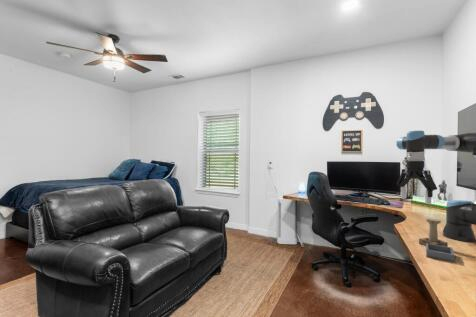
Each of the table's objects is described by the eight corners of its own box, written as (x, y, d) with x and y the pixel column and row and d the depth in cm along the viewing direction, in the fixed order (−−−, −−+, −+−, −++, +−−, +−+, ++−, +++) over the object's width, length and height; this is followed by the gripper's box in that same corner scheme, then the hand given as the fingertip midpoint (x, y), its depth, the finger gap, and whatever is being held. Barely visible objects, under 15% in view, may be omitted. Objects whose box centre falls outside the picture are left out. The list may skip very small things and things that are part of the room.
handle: (426, 243, 139) (426, 217, 138) (440, 245, 135) (440, 219, 134) (425, 245, 135) (425, 219, 135) (440, 248, 131) (440, 221, 131)
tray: (426, 249, 130) (426, 243, 130) (451, 254, 123) (452, 247, 123) (426, 256, 121) (426, 250, 120) (454, 262, 114) (454, 255, 114)
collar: (432, 242, 140) (432, 237, 140) (447, 247, 132) (447, 242, 132) (419, 243, 138) (419, 238, 138) (434, 249, 130) (434, 244, 130)
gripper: (389, 160, 135) (389, 197, 135) (433, 161, 110) (433, 206, 111) (400, 159, 136) (400, 196, 137) (446, 160, 112) (446, 205, 112)
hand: (415, 201), depth 124 cm, fingers open, 13 cm apart
